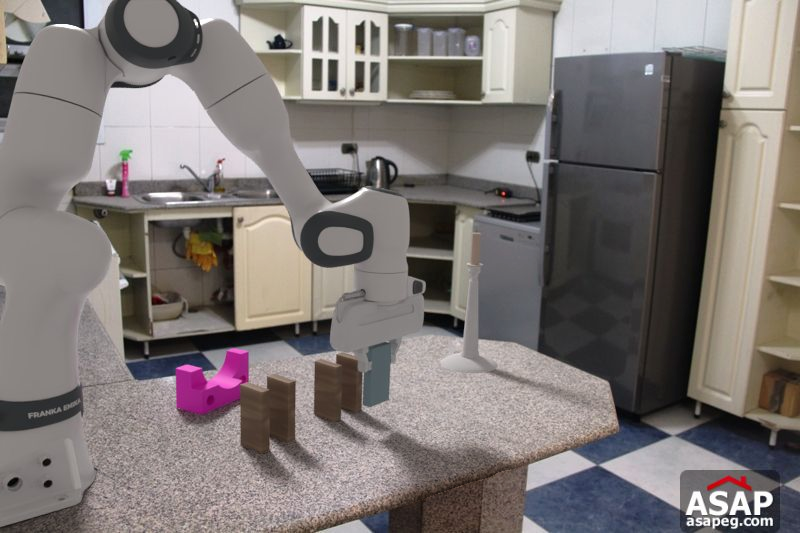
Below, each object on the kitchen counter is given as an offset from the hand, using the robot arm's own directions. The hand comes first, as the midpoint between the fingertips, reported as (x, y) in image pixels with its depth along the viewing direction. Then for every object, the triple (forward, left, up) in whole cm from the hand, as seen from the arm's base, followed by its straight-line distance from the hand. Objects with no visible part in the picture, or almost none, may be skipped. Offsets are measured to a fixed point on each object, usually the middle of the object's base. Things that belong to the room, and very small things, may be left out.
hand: (377, 367), depth 121 cm
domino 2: (-13, +9, -11) cm, 19 cm away
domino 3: (-2, +9, -11) cm, 15 cm away
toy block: (-9, +30, -11) cm, 34 cm away
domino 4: (+4, +9, -11) cm, 15 cm away
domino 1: (-18, +9, -11) cm, 23 cm away
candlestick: (+40, +6, -11) cm, 42 cm away
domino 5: (0, 0, -6) cm, 6 cm away
